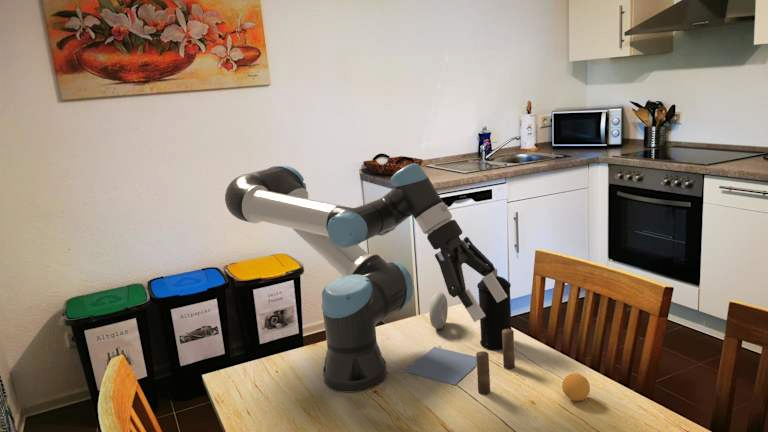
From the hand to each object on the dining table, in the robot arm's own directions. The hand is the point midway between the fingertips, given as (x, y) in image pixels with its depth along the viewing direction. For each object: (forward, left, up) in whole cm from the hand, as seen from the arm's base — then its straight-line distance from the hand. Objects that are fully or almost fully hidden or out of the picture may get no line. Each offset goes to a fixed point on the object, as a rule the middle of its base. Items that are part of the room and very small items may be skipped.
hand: (491, 309), depth 133 cm
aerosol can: (-8, +17, -17) cm, 25 cm away
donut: (-26, +19, -17) cm, 36 cm away
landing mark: (-14, +1, -17) cm, 22 cm away
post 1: (0, -6, -17) cm, 18 cm away
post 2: (0, +7, -17) cm, 19 cm away
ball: (+18, +1, -14) cm, 23 cm away
